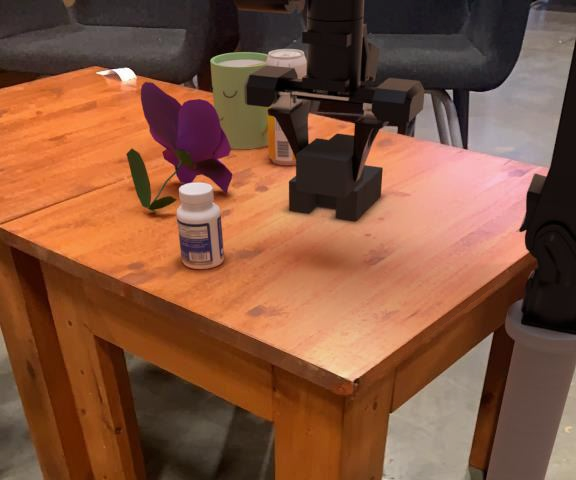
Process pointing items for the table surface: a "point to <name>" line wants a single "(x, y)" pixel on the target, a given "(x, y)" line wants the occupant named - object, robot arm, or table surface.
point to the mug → (238, 99)
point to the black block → (327, 167)
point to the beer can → (276, 138)
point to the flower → (181, 143)
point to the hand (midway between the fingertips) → (330, 176)
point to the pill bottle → (199, 227)
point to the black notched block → (344, 207)
